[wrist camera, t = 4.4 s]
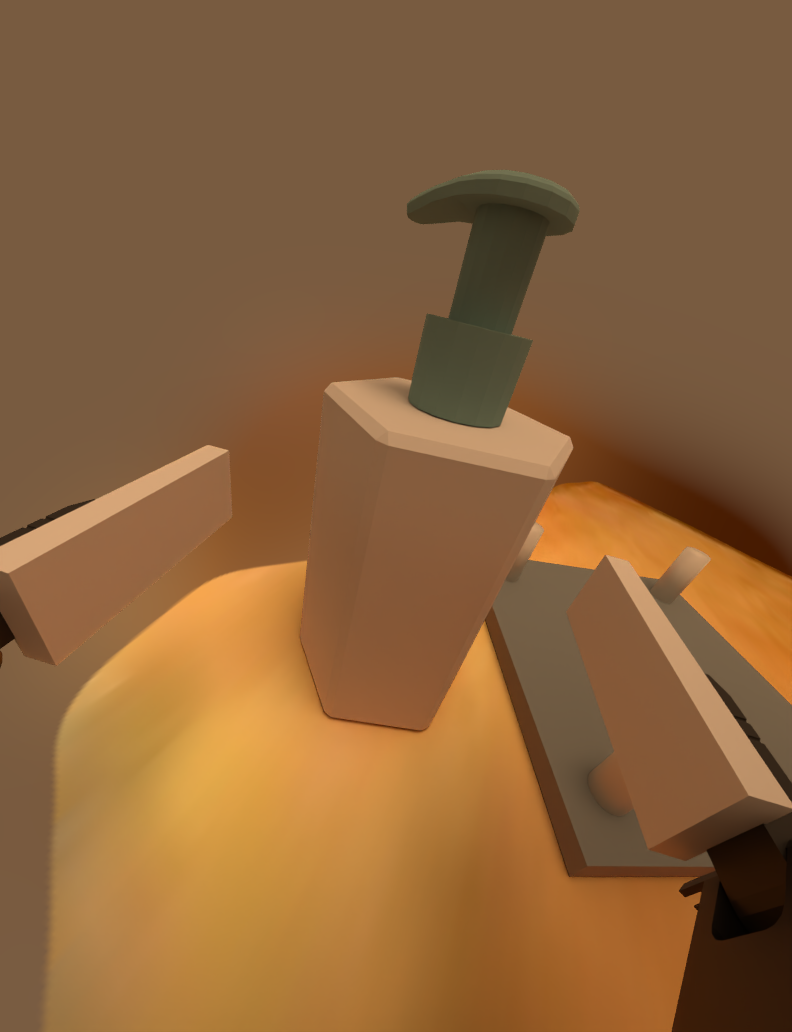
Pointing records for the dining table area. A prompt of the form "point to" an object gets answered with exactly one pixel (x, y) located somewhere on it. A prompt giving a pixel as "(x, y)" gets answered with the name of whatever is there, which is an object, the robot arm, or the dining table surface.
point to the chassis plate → (579, 723)
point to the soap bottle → (432, 472)
